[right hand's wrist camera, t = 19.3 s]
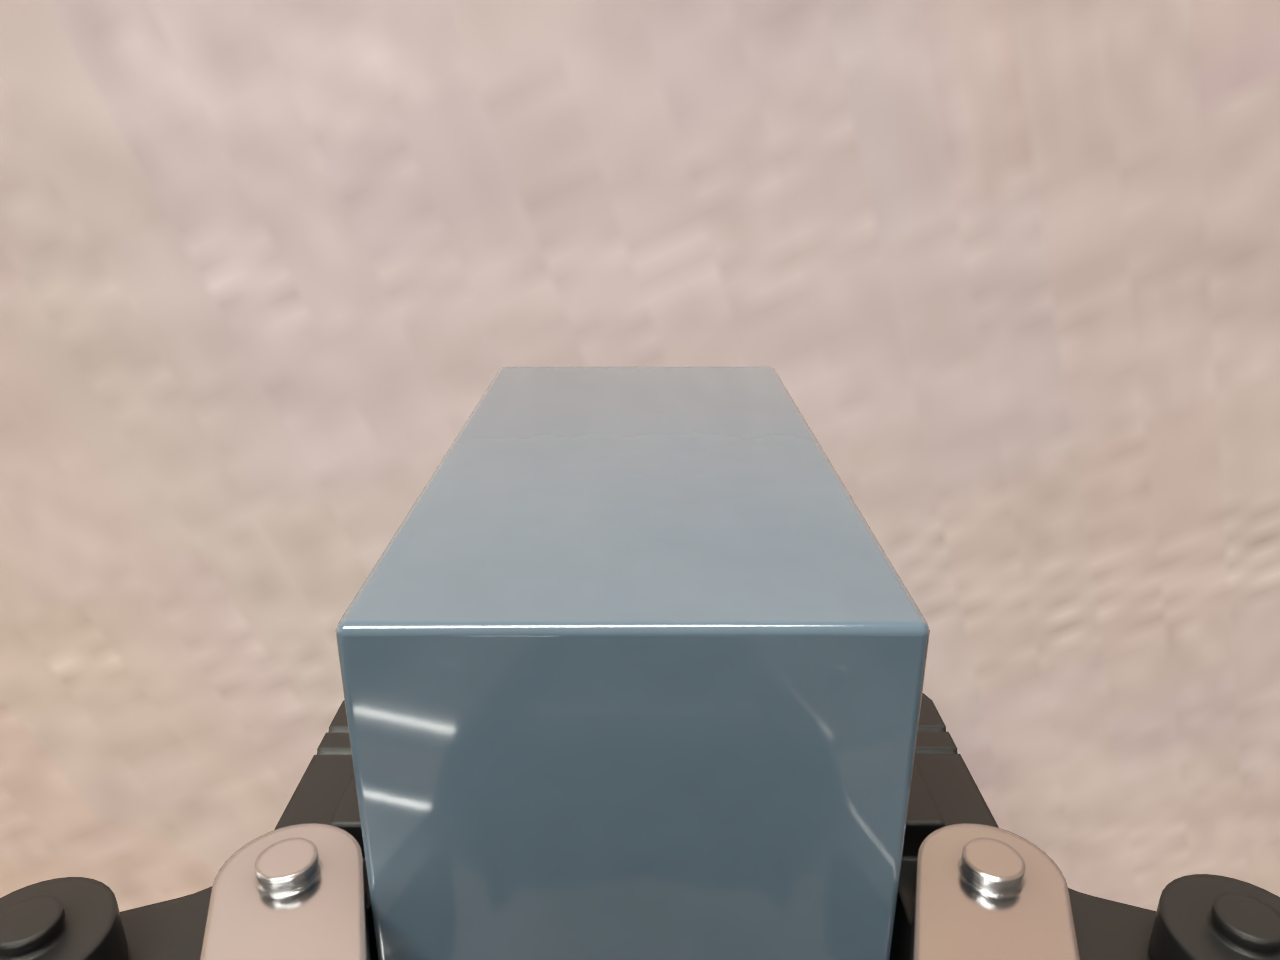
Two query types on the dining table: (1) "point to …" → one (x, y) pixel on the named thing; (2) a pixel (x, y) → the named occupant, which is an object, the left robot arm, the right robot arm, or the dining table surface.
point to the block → (633, 684)
